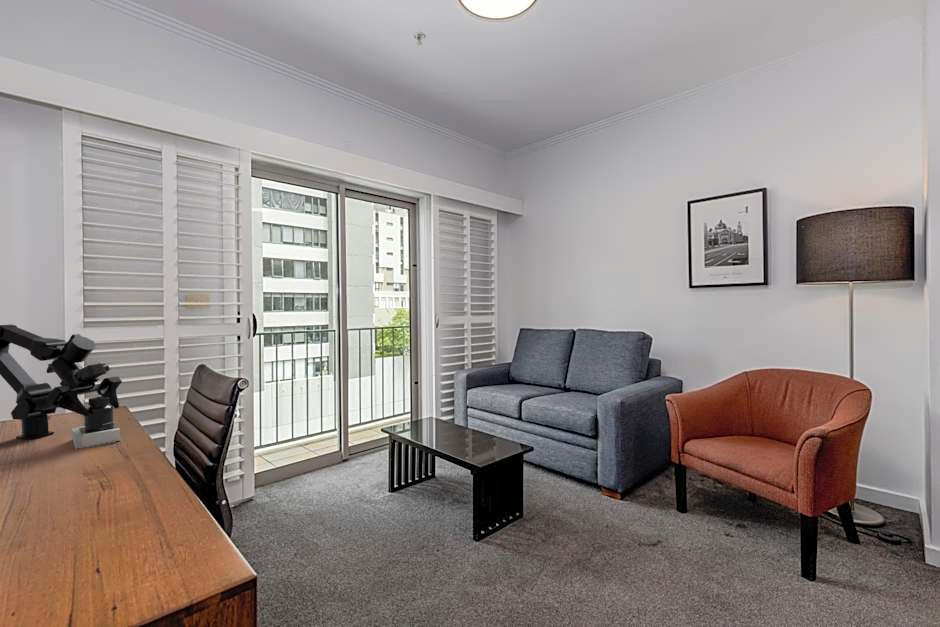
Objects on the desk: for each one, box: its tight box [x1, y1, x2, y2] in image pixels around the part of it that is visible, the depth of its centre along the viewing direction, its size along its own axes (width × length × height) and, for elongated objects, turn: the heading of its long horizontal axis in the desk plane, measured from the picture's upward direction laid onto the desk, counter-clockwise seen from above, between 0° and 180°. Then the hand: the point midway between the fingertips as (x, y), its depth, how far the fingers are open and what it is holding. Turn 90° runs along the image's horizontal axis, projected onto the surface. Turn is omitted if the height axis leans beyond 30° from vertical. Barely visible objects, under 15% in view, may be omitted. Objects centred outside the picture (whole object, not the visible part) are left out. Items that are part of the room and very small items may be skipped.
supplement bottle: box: [83, 395, 115, 434], centre depth 136 cm, size 7×7×12 cm
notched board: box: [71, 421, 121, 450], centre depth 135 cm, size 10×12×4 cm
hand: (103, 411), depth 135 cm, fingers open, 9 cm apart
